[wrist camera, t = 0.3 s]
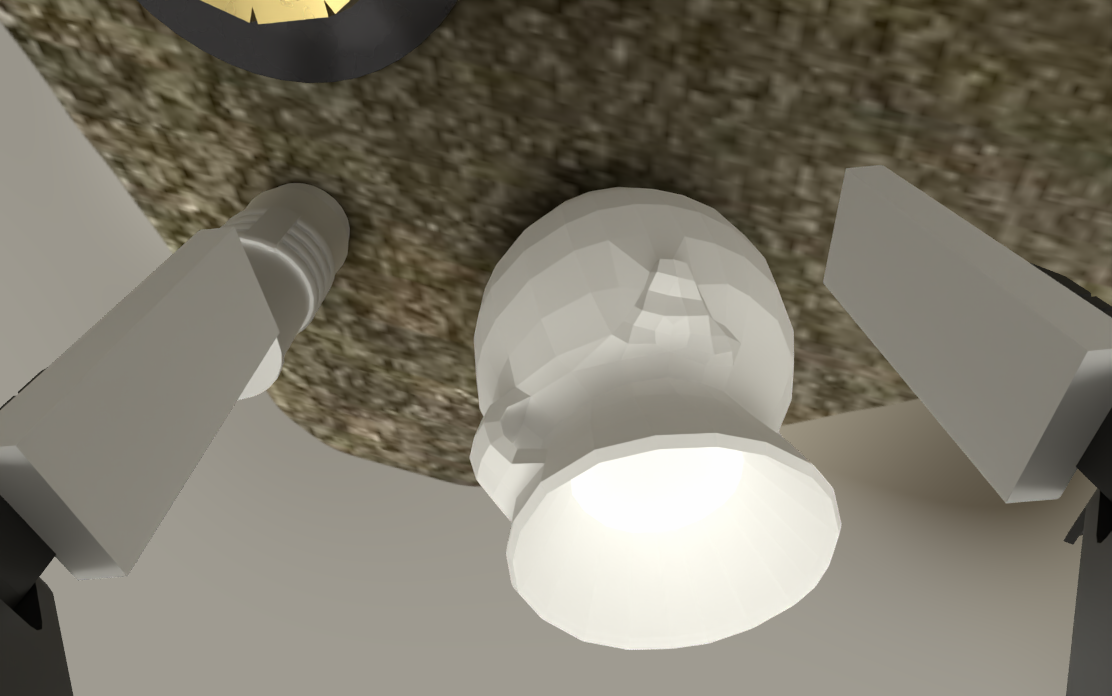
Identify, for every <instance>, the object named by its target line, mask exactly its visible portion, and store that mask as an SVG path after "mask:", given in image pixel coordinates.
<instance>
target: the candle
mask: <svg viewBox="0 0 1112 696" xmlns="http://www.w3.org/2000/svg"><path fill="white" fill-rule="evenodd" d="M227 227H235V229H236V232H237V234H238V236H239V239H240V241H241V243H242V246H243V248H244V250H245V253H246V255H247V257H248V260H249V262H250V264H251V267H252V269H253V271H254V274H255V276H256V278H257V280H258V283H259V285H260V287H261V290H262V292H263V294H264V297H265V299H266V301H267V304H268V306H269V308H270V311H271V313H272V315H273V318H274V320H275V322H276V325H277V327H278V329H279V332H280V333H279V334H278V336H277V338H276V339H275V341H274V342H273V344H272V346H271V347H270V349H269V350H268V352H267V354H266V355H265V357H264V358H263V360H262V362H261V363H260V365H259V366H258V368H257V370H256V371H255V373H254V374H253V376H252V378H251V379H250V381H249V382H248V384H247V386H246V387H245V389H244V390H243V392H242V394H241V395H240V397H239V398H238V400H241V399H245V398H249V397H253V396H256V395H258V394H259V393H261V392H263V391H265V390H267V389H268V388H269V387H270V386H271V385H272V384H273V383H274V381H275V380H276V379H277V378H278V376H279V374H280V372H281V369H282V366H283V364H284V355H285V353H286V352H287V350H288V348H289V347H290V345H291V343H292V342H293V340H294V338H295V337H296V335H297V334H298V333H299V332H301V331H303V330H304V329H305V328H306V327H307V326H308V324H309V323H310V322H311V321H312V320H313V318H314V315H315V313H316V312H317V311H318V309H319V307H320V305H321V303H322V302H323V300H324V299H325V297H326V294H327V293H328V292H329V290H330V288H331V286H332V283H333V281H334V278H335V274H336V273H337V271H338V270H339V269H340V268H341V267H342V265H343V264H344V262H345V259H346V257H347V254H348V241H349V235H350V227H349V223H348V218H347V216H346V214H345V212H344V210H343V208H342V207H341V206H340V205H339V204H338V202H337V201H336V200H335V199H334V198H333V197H332V196H330V195H329V194H328V193H326V192H325V191H323V190H321V189H319V188H317V187H315V186H312V185H308V184H304V183H288V184H285V185H282V186H279V187H277V188H274V189H270V190H267V191H264V192H262V193H260V194H259V195H258V196H256V197H255V198H253V199H252V201H251V202H250V203H249V205H248V206H247V207H246V209H245V210H244V211H241V212H239V213H238V214H236V215H235V216H233V217H232V218H230V219H229V220H228V221H227V222H226V224H225V225H223V226H222V227H220V228H227Z"/></svg>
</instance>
